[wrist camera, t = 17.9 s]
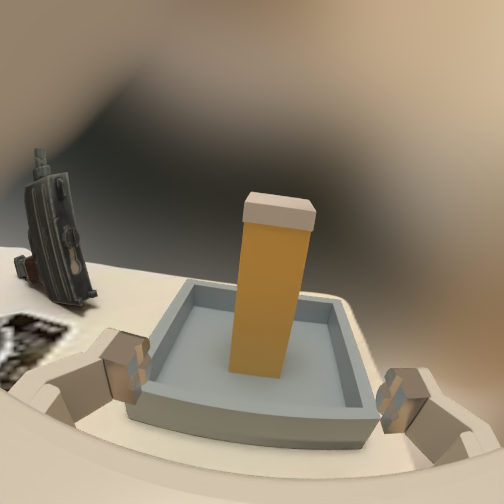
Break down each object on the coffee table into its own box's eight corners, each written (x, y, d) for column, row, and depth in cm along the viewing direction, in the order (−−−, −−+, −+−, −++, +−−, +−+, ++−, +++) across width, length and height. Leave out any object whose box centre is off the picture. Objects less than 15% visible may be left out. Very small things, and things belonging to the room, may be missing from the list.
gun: (10, 171, 29) (67, 136, 24) (35, 289, 33) (98, 295, 28) (-5, 174, 27) (47, 137, 22) (21, 296, 31) (81, 306, 26)
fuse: (226, 372, 22) (244, 201, 17) (233, 341, 26) (251, 191, 21) (281, 379, 22) (316, 211, 17) (281, 347, 26) (308, 199, 21)
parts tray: (128, 418, 17) (120, 384, 16) (186, 307, 32) (187, 278, 31) (361, 448, 16) (380, 418, 15) (332, 327, 31) (340, 299, 30)
